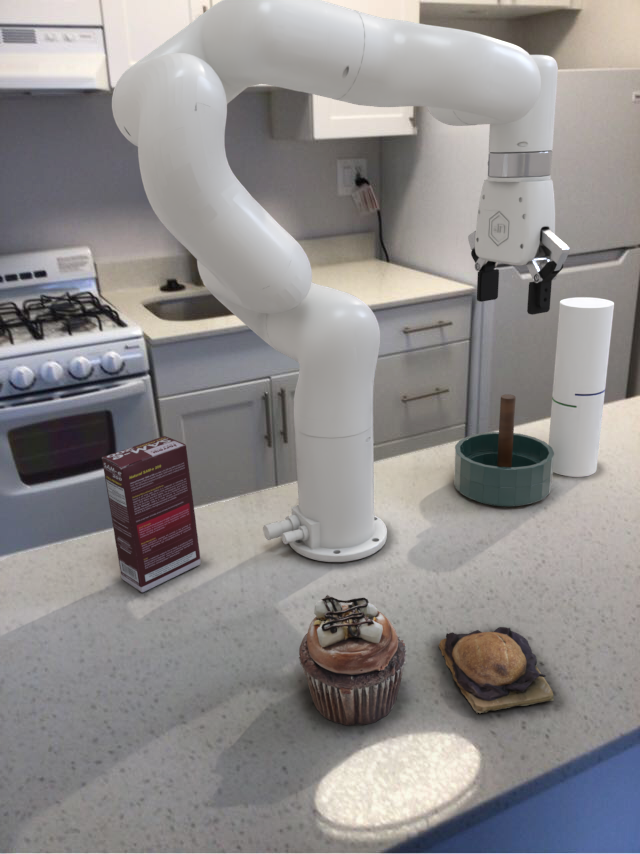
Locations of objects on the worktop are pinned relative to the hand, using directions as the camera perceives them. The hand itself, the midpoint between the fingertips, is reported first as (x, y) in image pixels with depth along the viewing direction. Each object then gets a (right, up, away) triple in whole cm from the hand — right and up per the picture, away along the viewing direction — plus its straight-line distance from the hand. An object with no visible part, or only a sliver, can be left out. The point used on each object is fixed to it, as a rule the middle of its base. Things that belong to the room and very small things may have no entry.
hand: (511, 306), depth 99 cm
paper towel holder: (+1, -24, +9) cm, 26 cm away
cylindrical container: (+13, -22, +15) cm, 30 cm away
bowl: (+1, -25, +9) cm, 26 cm away
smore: (-9, -39, -27) cm, 48 cm away
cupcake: (-22, -41, -29) cm, 55 cm away
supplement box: (-44, -33, -8) cm, 56 cm away
